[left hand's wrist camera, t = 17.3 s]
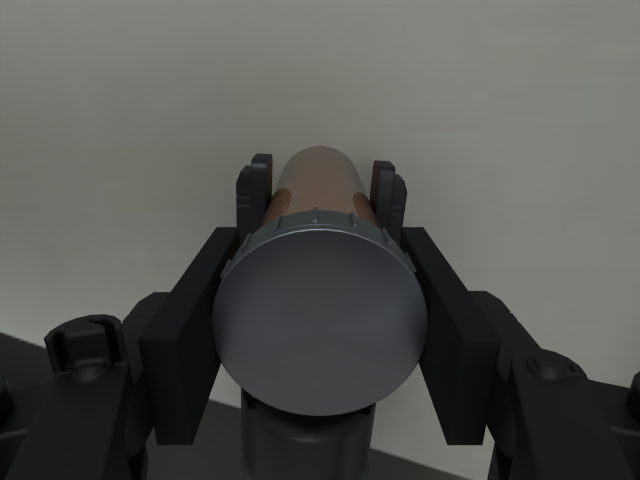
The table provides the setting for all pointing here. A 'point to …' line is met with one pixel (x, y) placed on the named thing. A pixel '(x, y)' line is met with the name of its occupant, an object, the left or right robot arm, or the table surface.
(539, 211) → the table surface
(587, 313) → the table surface
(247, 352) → the lid
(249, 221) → the right robot arm
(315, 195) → the jar
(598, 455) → the left robot arm
